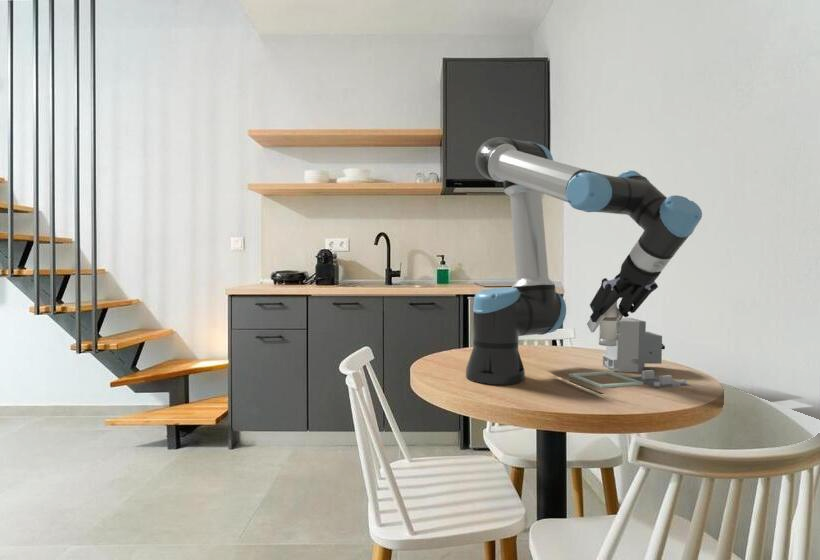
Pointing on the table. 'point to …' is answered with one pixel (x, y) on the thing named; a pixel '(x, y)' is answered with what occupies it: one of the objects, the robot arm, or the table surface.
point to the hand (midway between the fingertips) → (598, 327)
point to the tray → (577, 376)
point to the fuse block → (658, 380)
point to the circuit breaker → (633, 347)
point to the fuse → (609, 327)
